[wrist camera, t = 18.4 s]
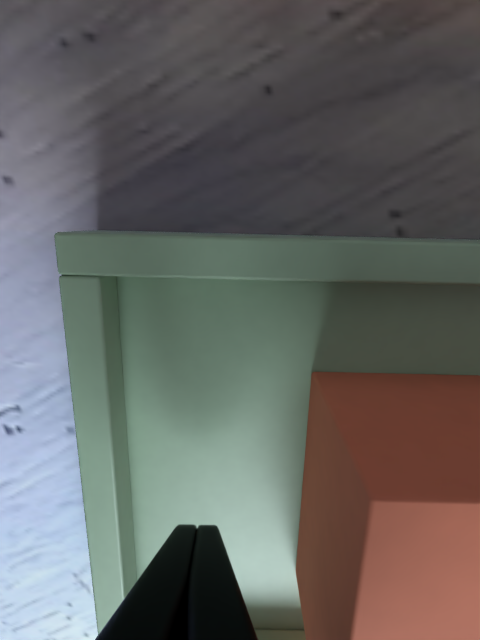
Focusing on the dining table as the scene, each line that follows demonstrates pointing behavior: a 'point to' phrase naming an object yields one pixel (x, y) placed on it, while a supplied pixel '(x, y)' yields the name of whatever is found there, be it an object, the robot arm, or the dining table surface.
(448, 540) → the coral block
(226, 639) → the robot arm
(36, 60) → the dining table surface
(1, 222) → the dining table surface
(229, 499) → the green shallow rectangular tray
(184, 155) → the dining table surface
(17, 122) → the dining table surface
